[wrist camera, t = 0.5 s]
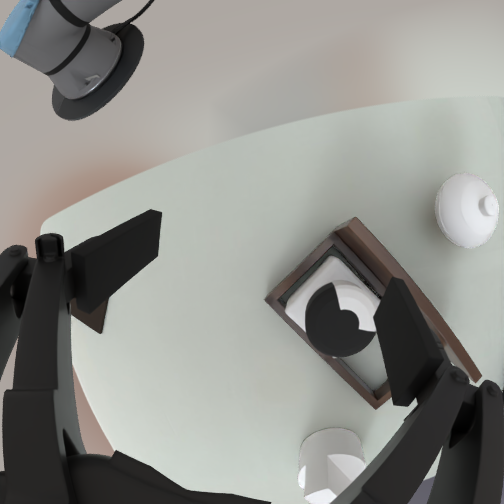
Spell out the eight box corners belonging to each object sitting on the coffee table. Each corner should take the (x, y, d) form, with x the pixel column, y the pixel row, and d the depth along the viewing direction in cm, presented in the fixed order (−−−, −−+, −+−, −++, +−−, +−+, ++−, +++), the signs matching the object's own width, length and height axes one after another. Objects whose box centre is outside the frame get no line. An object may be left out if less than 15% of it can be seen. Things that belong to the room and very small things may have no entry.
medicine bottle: (329, 337, 33) (340, 382, 21) (287, 297, 34) (278, 326, 22) (371, 295, 32) (404, 321, 20) (330, 253, 33) (344, 259, 21)
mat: (78, 253, 39) (75, 253, 38) (114, 273, 38) (112, 273, 37) (68, 310, 40) (65, 310, 39) (102, 333, 39) (99, 333, 38)
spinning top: (465, 245, 29) (521, 246, 18) (416, 249, 31) (465, 252, 19) (458, 185, 29) (511, 164, 17) (409, 186, 31) (454, 160, 19)
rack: (372, 400, 32) (392, 455, 20) (266, 295, 34) (247, 322, 22) (437, 340, 30) (482, 376, 18) (337, 225, 32) (355, 216, 21)
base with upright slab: (287, 445, 34) (279, 503, 22) (343, 417, 33) (353, 476, 21) (318, 477, 33) (317, 532, 22) (370, 452, 32) (383, 507, 20)
